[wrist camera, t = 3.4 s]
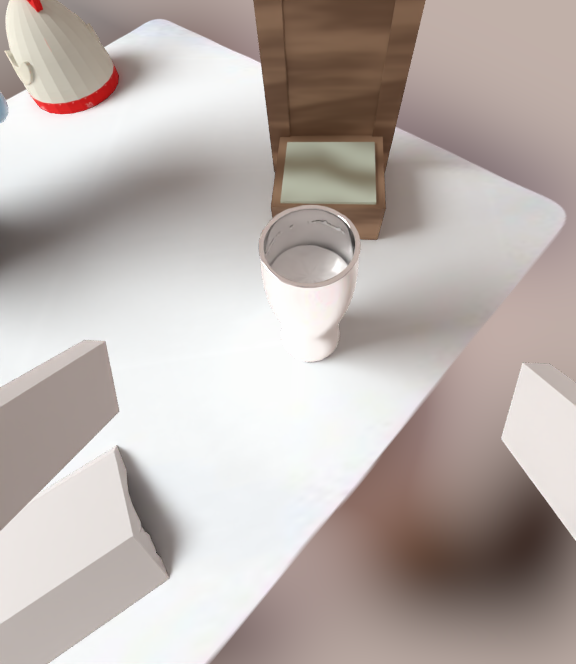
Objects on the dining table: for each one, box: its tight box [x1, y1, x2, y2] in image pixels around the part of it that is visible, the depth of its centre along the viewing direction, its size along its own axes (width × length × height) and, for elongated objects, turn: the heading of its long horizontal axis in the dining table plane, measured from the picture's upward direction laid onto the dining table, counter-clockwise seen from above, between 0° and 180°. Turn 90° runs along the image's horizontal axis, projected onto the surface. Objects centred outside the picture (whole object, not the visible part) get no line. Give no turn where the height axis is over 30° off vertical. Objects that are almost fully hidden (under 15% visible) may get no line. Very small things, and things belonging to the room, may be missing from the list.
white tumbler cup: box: [259, 205, 361, 362], centre depth 29 cm, size 7×7×15 cm
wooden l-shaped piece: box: [253, 0, 425, 240], centre depth 32 cm, size 13×15×24 cm
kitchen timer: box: [5, 0, 119, 114], centre depth 49 cm, size 14×14×15 cm
